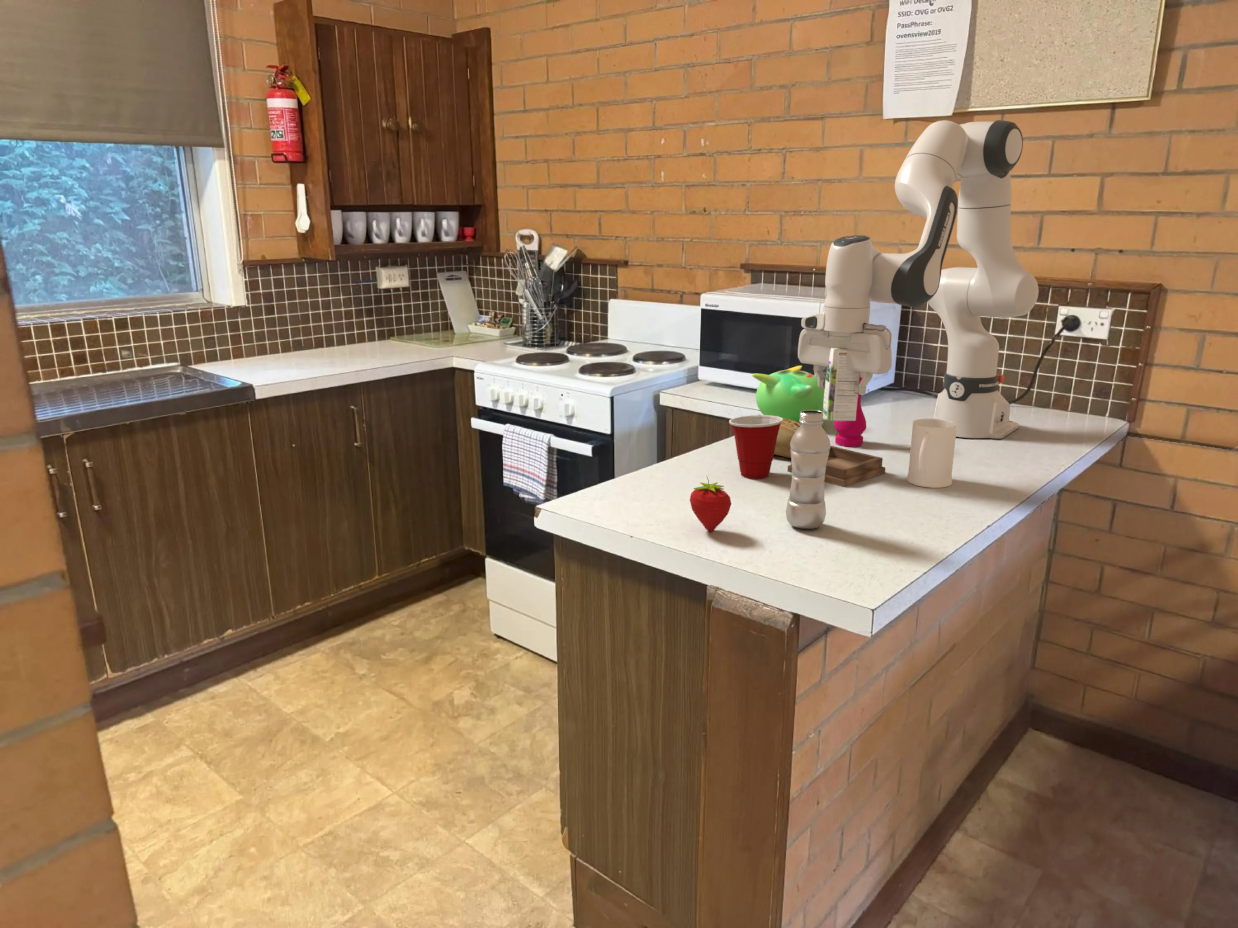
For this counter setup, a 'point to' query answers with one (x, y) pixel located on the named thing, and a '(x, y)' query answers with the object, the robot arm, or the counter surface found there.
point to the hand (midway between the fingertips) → (841, 390)
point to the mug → (932, 453)
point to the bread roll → (785, 437)
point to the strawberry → (710, 504)
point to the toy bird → (788, 393)
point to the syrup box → (840, 388)
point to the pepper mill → (851, 428)
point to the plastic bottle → (808, 472)
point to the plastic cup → (755, 443)
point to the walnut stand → (850, 466)
